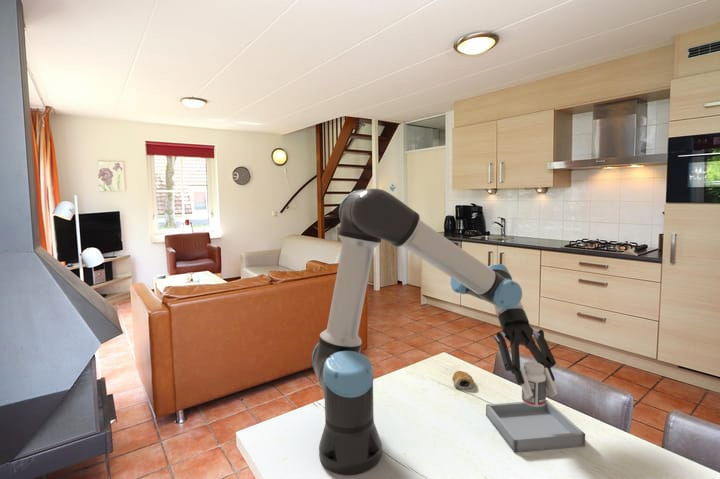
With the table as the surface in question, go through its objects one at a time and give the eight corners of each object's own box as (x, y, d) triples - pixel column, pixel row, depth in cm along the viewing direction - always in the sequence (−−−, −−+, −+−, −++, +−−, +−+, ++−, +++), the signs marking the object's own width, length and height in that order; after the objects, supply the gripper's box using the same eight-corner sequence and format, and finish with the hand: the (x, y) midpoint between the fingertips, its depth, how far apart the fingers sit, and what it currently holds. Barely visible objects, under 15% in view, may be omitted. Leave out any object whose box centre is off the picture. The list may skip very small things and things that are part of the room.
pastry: (450, 376, 132) (450, 365, 131) (470, 376, 131) (470, 366, 131) (454, 389, 122) (454, 378, 122) (475, 390, 122) (476, 378, 121)
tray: (514, 452, 91) (514, 440, 91) (485, 415, 107) (486, 404, 107) (584, 446, 93) (585, 433, 93) (546, 410, 109) (546, 399, 108)
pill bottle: (540, 396, 102) (541, 360, 101) (549, 408, 96) (550, 370, 95) (518, 395, 102) (519, 360, 101) (525, 407, 97) (526, 370, 96)
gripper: (536, 317, 114) (569, 397, 99) (475, 321, 112) (500, 403, 97) (547, 305, 108) (584, 388, 93) (483, 308, 106) (511, 394, 91)
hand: (541, 396), depth 95 cm, fingers closed on pill bottle, 6 cm apart
